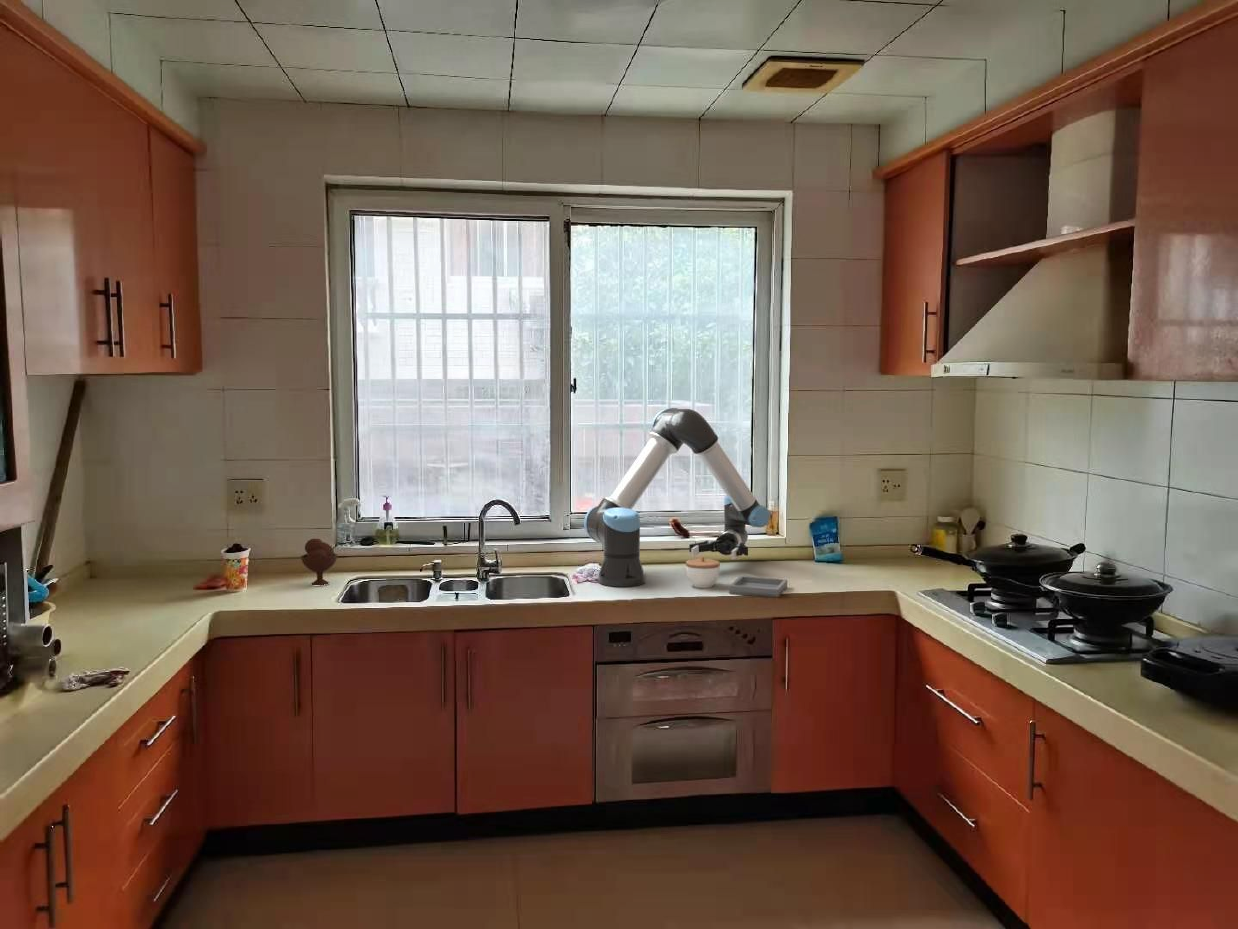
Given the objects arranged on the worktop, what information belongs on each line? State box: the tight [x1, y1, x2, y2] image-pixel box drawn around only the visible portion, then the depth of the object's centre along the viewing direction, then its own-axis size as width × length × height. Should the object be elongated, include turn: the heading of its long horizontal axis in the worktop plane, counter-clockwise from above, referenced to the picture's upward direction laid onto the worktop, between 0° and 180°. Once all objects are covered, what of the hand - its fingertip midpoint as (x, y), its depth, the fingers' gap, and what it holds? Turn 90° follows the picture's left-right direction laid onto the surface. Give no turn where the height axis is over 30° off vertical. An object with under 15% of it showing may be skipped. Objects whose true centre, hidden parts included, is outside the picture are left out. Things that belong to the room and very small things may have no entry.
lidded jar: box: [685, 556, 721, 589], centre depth 283 cm, size 11×11×9 cm
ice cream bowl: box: [300, 538, 338, 586], centre depth 285 cm, size 11×11×15 cm
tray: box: [728, 575, 788, 599], centre depth 277 cm, size 15×15×2 cm
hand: (712, 554), depth 292 cm, fingers open, 13 cm apart
